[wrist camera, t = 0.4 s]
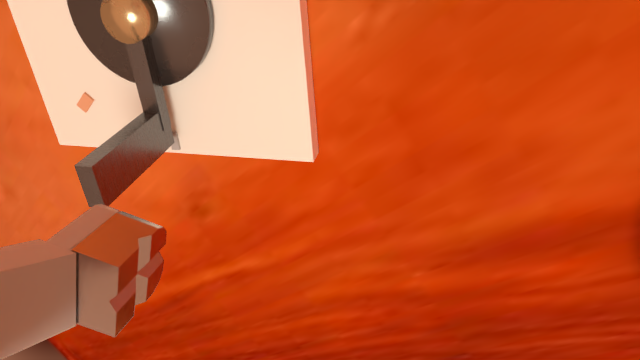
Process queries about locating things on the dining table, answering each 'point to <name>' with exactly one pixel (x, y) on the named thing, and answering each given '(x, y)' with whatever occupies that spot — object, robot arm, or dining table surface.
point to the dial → (139, 78)
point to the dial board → (187, 82)
